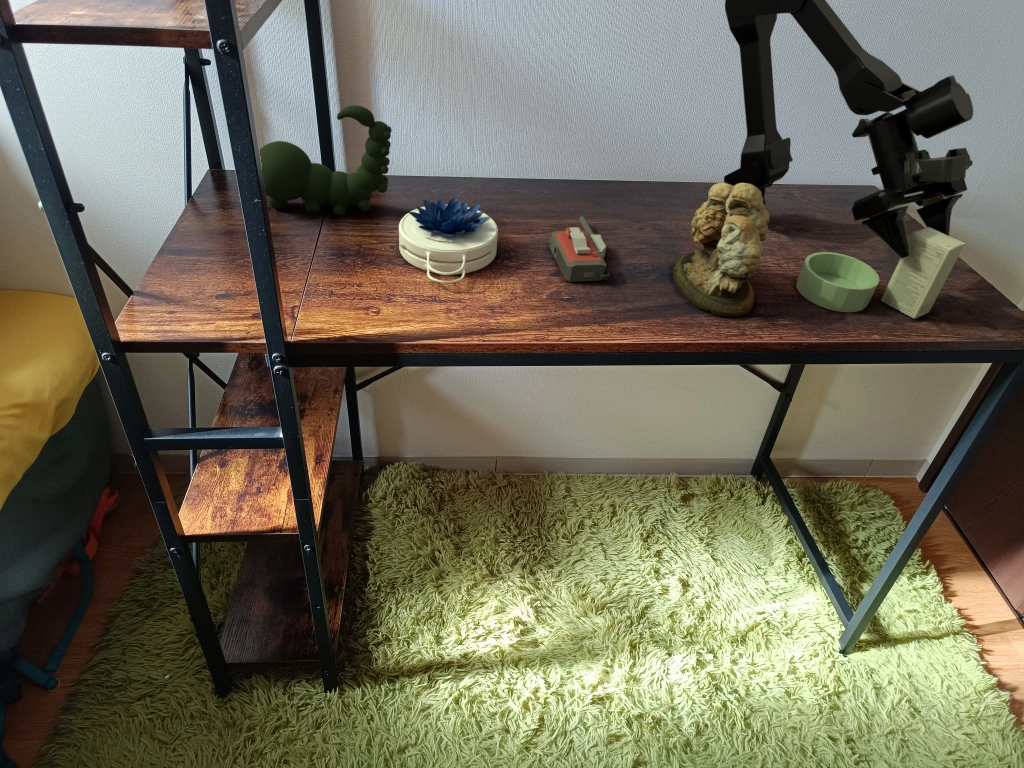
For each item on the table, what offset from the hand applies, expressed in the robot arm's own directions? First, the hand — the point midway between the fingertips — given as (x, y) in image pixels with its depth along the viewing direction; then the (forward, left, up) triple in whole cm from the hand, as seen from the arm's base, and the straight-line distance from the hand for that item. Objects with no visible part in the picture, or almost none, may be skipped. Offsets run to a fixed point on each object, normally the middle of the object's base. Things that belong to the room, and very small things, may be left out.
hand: (925, 251), depth 104 cm
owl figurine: (-29, -8, -9) cm, 32 cm away
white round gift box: (-70, -17, -9) cm, 73 cm away
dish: (-10, -1, -9) cm, 14 cm away
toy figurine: (-96, -11, -9) cm, 97 cm away
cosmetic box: (+1, -1, -9) cm, 9 cm away
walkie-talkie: (-51, -7, -9) cm, 53 cm away
